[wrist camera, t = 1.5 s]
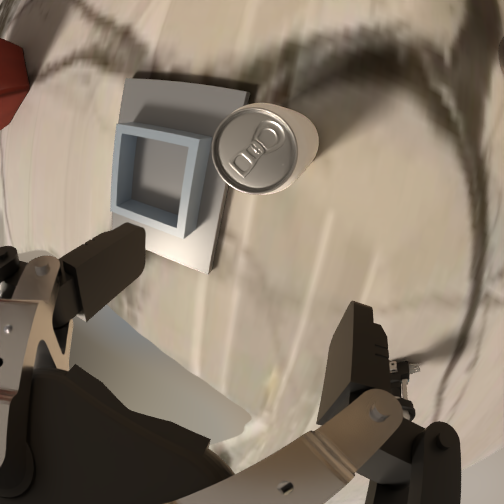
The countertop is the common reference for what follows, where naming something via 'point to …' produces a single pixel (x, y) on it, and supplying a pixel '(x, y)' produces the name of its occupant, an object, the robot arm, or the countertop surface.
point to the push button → (398, 376)
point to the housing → (171, 166)
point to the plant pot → (11, 80)
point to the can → (263, 148)
